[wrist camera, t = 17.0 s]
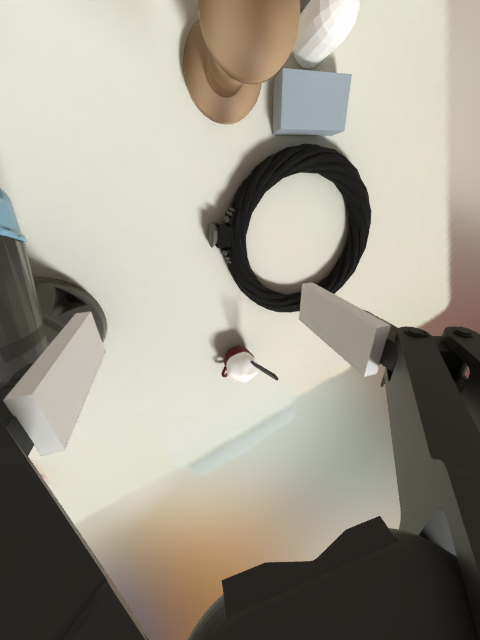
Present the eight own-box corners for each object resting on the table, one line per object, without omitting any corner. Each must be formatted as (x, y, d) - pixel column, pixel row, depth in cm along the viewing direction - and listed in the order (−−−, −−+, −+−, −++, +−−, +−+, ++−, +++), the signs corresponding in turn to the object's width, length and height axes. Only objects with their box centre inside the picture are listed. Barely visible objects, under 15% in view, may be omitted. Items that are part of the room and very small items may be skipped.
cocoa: (221, 370, 51) (232, 415, 41) (213, 349, 48) (223, 392, 38) (261, 356, 52) (282, 397, 42) (256, 334, 49) (277, 372, 39)
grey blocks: (272, 134, 34) (280, 128, 32) (277, -97, 25) (289, -131, 23) (331, 135, 37) (344, 130, 34) (355, -76, 28) (375, -105, 25)
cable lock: (350, 313, 49) (209, 319, 41) (339, 306, 53) (206, 310, 44) (399, 155, 38) (214, 120, 29) (380, 159, 41) (209, 128, 33)
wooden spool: (189, 123, 31) (199, 83, 21) (177, 11, 27) (183, -109, 16) (259, 125, 34) (300, 90, 23) (259, 23, 29) (310, -77, 19)
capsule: (283, 33, 30) (317, -17, 23) (314, -2, 29) (359, -65, 23) (304, 79, 33) (341, 45, 26) (333, 47, 32) (379, 4, 25)
